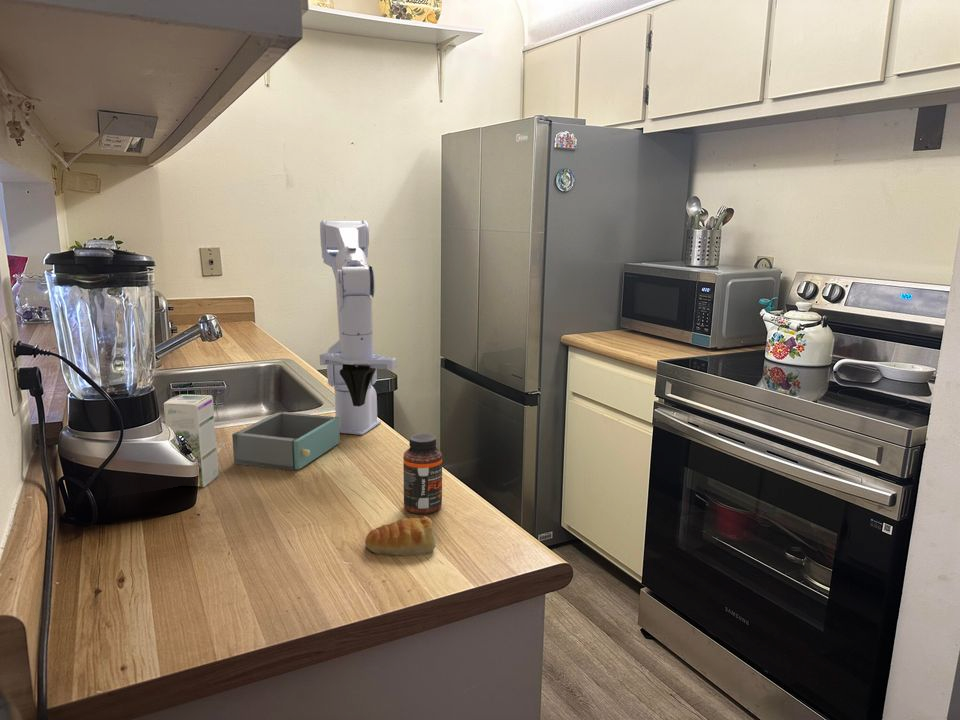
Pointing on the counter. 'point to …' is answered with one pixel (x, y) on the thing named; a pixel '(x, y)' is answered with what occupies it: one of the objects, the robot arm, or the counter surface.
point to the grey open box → (273, 439)
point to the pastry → (402, 537)
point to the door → (316, 442)
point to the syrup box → (195, 430)
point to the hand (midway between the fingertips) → (358, 404)
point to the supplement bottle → (422, 475)
